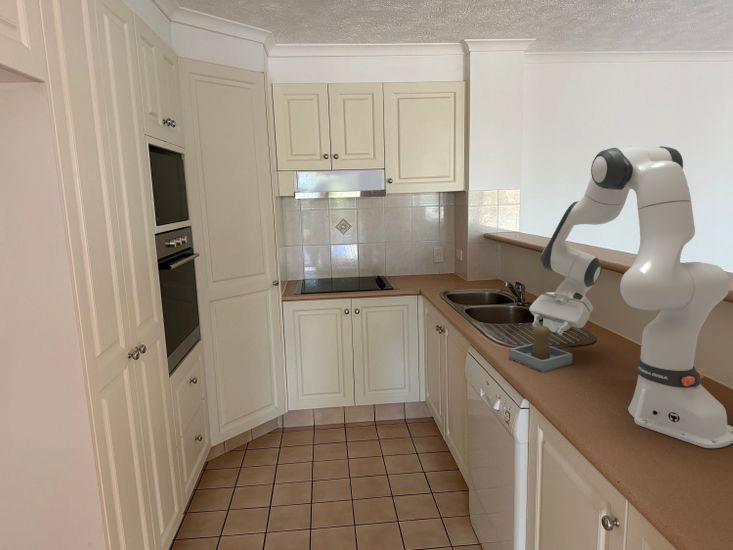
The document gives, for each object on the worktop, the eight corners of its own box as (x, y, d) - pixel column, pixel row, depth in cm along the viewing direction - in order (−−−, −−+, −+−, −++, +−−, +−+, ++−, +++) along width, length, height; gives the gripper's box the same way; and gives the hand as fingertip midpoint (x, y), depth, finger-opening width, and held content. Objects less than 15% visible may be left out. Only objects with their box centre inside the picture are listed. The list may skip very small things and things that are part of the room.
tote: (572, 363, 153) (572, 353, 153) (542, 372, 147) (542, 361, 146) (538, 351, 165) (538, 342, 165) (509, 358, 159) (509, 349, 158)
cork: (538, 362, 152) (539, 330, 150) (526, 356, 158) (528, 325, 156) (553, 360, 154) (555, 328, 152) (542, 354, 160) (543, 323, 158)
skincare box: (542, 327, 194) (544, 292, 192) (555, 326, 195) (557, 291, 193) (553, 333, 186) (555, 296, 184) (567, 332, 187) (569, 295, 185)
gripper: (538, 286, 166) (517, 317, 163) (590, 297, 148) (567, 332, 145) (546, 297, 168) (526, 327, 166) (598, 309, 151) (576, 343, 148)
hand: (545, 330), depth 155 cm, fingers open, 8 cm apart
